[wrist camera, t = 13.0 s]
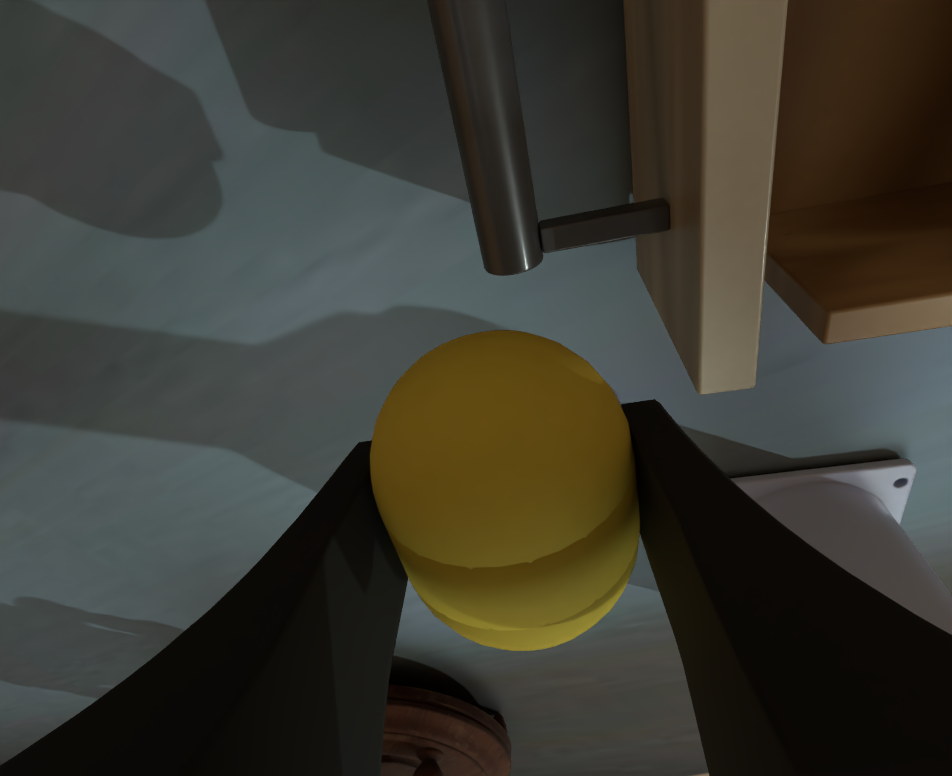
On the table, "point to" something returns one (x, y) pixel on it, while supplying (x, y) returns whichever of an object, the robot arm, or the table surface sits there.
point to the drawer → (742, 165)
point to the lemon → (508, 488)
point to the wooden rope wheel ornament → (441, 736)
